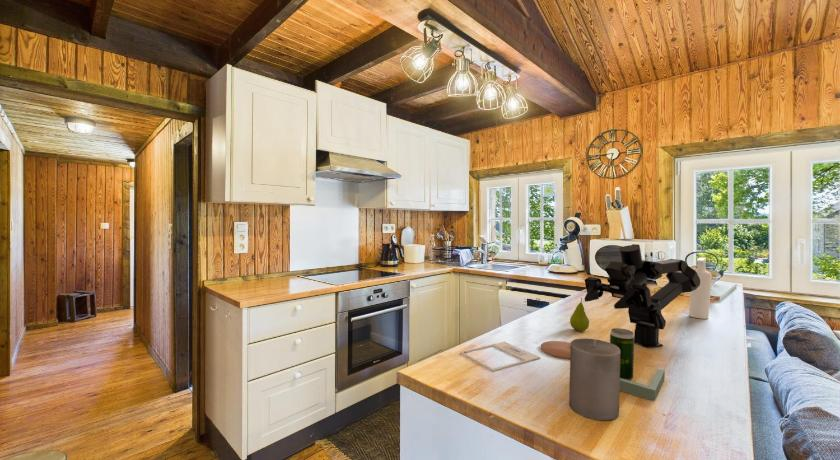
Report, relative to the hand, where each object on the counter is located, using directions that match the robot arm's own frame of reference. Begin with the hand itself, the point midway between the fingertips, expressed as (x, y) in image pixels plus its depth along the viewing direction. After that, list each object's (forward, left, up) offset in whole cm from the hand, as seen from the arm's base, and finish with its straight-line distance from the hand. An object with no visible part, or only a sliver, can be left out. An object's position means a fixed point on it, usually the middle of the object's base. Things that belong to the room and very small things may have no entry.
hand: (599, 303), depth 102 cm
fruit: (-13, -23, -16) cm, 31 cm away
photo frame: (+27, -8, -17) cm, 33 cm away
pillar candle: (+21, +23, -16) cm, 35 cm away
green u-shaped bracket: (+4, +12, -16) cm, 21 cm away
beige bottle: (-76, -27, -16) cm, 82 cm away
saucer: (+6, -7, -16) cm, 19 cm away
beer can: (+3, +12, -16) cm, 20 cm away
